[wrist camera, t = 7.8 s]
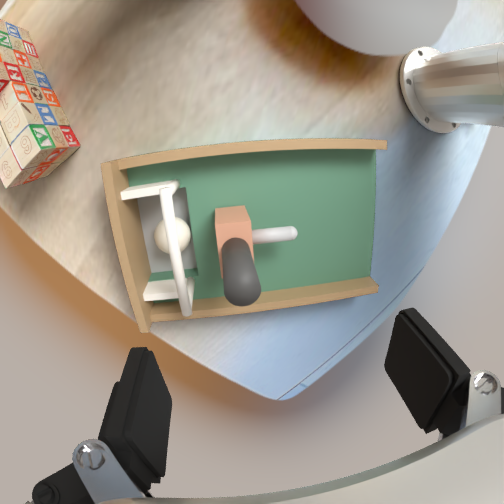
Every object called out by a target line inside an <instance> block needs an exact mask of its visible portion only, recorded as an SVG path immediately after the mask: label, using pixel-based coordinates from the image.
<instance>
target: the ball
mask: <svg viewBox="0 0 504 504" xmlns="http://www.w3.org/2000/svg"><path fill="white" fill-rule="evenodd" d="M175 220H176V227H177V233H178V239H179V245H180V251H181V252H182V251H183V250H184V249H185V248H186V247H187V246H188V244H189V242H190V239H191V232H190V228H189V226H188V225H187V223H186V222H185V221H184V220H182V219H180V218H178V217H175ZM154 239H155V242H156V245H157V246H158V248H159V249H160V250H162V251H163V252H165V253H168V254H169V249H168V243H167V238H166V232H165V226H164V220H162V221H160V222H159V223H158V225H157V226H156V229H155V232H154Z"/></svg>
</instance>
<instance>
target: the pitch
mask: <svg viewBox="0 0 504 504" xmlns="http://www.w3.org/2000/svg"><path fill="white" fill-rule="evenodd" d="M376 149H383V150H387V140H373V139H347V138H308V139H278V140H260V141H246V142H234V143H223V144H213V145H205V146H196V147H188V148H181V149H174V150H167V151H161V152H155V153H149V154H143V155H138V156H132V157H127V158H122V159H118V160H114V161H109V162H105V163H101V170H102V177H103V183H104V189H105V195H106V201H107V207H108V212H109V217H110V222H111V227H112V232H113V236H114V241H115V245H116V249H117V253H118V258H119V262H120V266H121V269H122V273H123V277H124V281H125V284H126V288H127V291H128V295H129V298H130V302H131V305H132V308H133V311H134V315H135V318H136V321H137V324H138V327H139V330H140V333H149V331H150V327H151V324H152V322H160V321H173V320H184V319H195V318H206V317H216V316H225V315H234V314H242V313H251V312H259V311H266V310H274V309H281V308H288V307H295V306H302V305H308V304H315V303H321V302H327V301H333V300H339V299H345V298H351V297H356V296H362V295H367V294H372V293H378V287H379V285H378V284H377V283H376V282H375V281H374V280H373V279H372V278H371V277H370V270H371V260H372V248H373V235H374V219H375V193H376ZM242 205H245V208H246V210H247V213H248V215H249V217H250V220H251V228H252V230H256V229H266V228H276V227H286V226H293V227H295V228H296V230H297V232H298V234H297V237H296V238H295V239H294V240H291V241H281V242H272V243H263V244H254V245H253V254H254V265H255V268H256V271H257V275H258V278H259V281H260V285H261V294H260V296H259V298H258V299H257V301H255V302H254V303H253V304H251V305H248V306H242V307H241V306H235V305H233V304H231V303H230V302H229V301H228V300H227V299H226V297H225V295H224V285H223V279H222V278H221V270H220V262H219V254H218V246H217V238H216V230H215V208H223V207H232V206H242ZM175 217H178V218H180V219H182V220H184V221H185V222H186V223H187V225H188V226H189V228H190V232H191V239H190V242H189V244H188V246H187V247H186V248H185V249H184V250H183V251H182V252H181V251H180V245H179V239H178V233H177V227H176V220H175ZM162 220H164V226H165V232H166V238H167V243H168V249H169V254H168V253H165V252H163V251H162V250H160V249H159V248H158V246H157V245H156V242H155V239H154V232H155V229H156V226H157V225H158V223H159V222H160V221H162Z"/></svg>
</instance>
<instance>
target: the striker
mask: <svg viewBox="0 0 504 504" xmlns="http://www.w3.org/2000/svg"><path fill="white" fill-rule="evenodd" d="M215 230H216V238H217V246H218V254H219V262H220V270H221V278H222V279H223V285H224V295H225V297H226V299H227V300H228V301H229V302H230V303H231V304H233V305H235V306H241V307H242V306H248V305H251V304H253V303H254V302H255V301H257V299H258V298H259V296H260V294H261V285H260V281H259V278H258V275H257V271H256V268H255V265H254V254H253V245H254V244H263V243H272V242H281V241H291V240H294V239H295V238H296V237H297V234H298V232H297V230H296V228H295V227H293V226H286V227H276V228H266V229H256V230H252V228H251V220H250V217H249V215H248V213H247V210H246V208H245V205H242V206H232V207H223V208H215Z"/></svg>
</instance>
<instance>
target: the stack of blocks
mask: <svg viewBox="0 0 504 504" xmlns="http://www.w3.org/2000/svg"><path fill="white" fill-rule="evenodd" d="M79 147H80V144H79V142H78V140H77V138H76V137H75V135H74V133H73V131H72V130H71V128H70V124H69V122H68V120H67V118H66V116H65V114H64V112H63V110H62V108H61V106H60V104H59V102H58V100H57V98H56V95H55V93H54V91H53V90H52V88H51V86H50V84H49V82H48V80H47V77H46V75H45V74H44V71H43V68H42V66H41V64H40V61H39V59H38V55H37V53H36V50H35V48H34V45H33V42H32V39H31V37H30V34H29V32H28V31H27V30H24V29H22V28H20V27H16V26H14V25H12V24H9V23H7V22H5V21H4V20H1V19H0V179H1V181H2V183H3V185H4V187H5V188H6V189H8V188H11V187H14V186H17V185H20V184H25V183H28V182H31V181H34V180H37V179H40V178H43V177H46V176H48V175H49V174H50V173H51V172H53V171H54V170H55V169H56V168H57V167H58V166H59V165H60V164H61V163H62V162H63V161H65V160H66V159H67V158H68V157H69V156H70V155H72V154H73V153H74V152H75V151H76V150H77V149H78V148H79Z"/></svg>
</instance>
